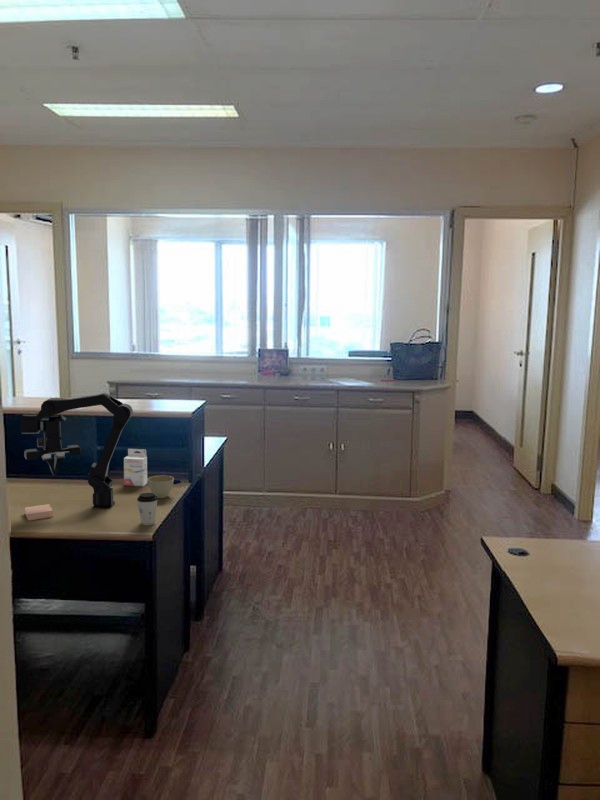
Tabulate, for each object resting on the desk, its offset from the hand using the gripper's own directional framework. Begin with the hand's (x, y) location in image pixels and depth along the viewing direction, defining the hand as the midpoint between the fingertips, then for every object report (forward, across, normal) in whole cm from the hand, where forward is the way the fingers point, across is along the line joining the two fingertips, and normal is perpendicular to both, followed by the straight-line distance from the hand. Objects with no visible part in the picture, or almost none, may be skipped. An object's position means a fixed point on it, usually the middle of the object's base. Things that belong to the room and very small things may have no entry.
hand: (54, 475), depth 222 cm
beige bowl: (+12, -38, +6) cm, 40 cm away
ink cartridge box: (+12, -34, -15) cm, 39 cm away
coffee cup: (+12, -24, +33) cm, 43 cm away
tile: (+11, +3, +6) cm, 13 cm away
